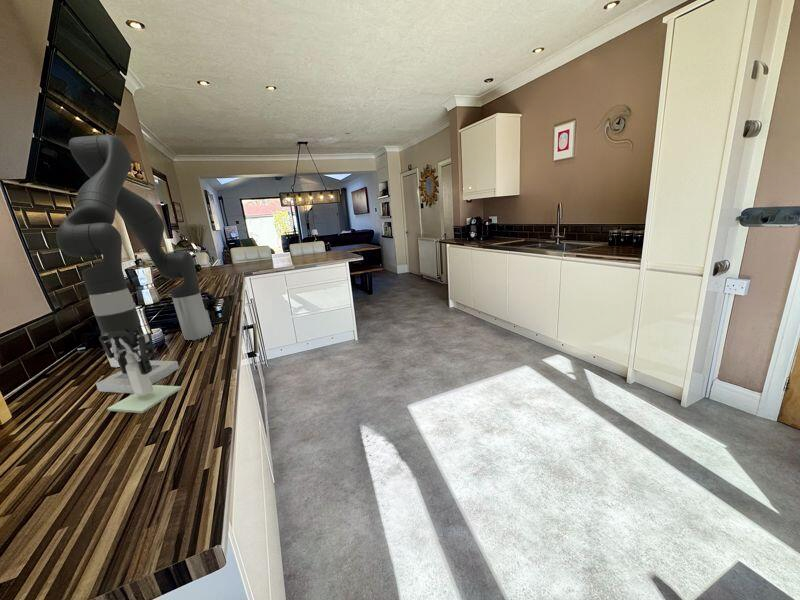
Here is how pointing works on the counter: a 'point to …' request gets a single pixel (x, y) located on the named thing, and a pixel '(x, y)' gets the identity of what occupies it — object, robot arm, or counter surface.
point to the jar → (112, 360)
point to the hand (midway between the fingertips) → (137, 372)
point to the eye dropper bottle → (137, 376)
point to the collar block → (122, 382)
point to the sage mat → (144, 399)
